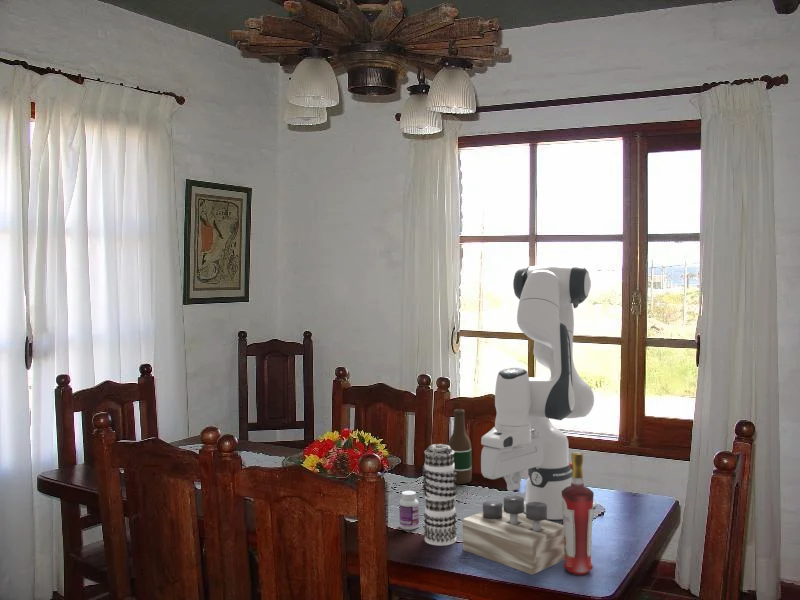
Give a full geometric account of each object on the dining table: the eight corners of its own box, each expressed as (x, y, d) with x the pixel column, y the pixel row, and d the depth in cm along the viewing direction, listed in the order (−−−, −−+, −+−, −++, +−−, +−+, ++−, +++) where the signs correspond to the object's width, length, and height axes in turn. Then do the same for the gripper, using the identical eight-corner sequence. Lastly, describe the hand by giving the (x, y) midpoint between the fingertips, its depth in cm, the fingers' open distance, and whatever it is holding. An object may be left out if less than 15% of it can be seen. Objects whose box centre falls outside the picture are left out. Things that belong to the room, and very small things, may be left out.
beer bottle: (472, 484, 253) (471, 411, 251) (449, 484, 253) (447, 412, 251) (470, 477, 260) (469, 407, 259) (447, 477, 260) (446, 407, 259)
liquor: (558, 565, 185) (557, 450, 183) (588, 564, 185) (588, 449, 184) (566, 578, 177) (566, 458, 176) (598, 577, 178) (597, 457, 176)
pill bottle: (417, 530, 210) (416, 495, 210) (398, 529, 211) (397, 495, 211) (420, 524, 216) (420, 490, 215) (401, 523, 217) (401, 489, 216)
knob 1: (491, 530, 201) (491, 500, 201) (506, 535, 197) (506, 504, 197) (479, 535, 198) (478, 504, 197) (493, 540, 194) (493, 508, 194)
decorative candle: (415, 539, 204) (414, 445, 203) (442, 531, 210) (441, 440, 208) (438, 549, 197) (436, 452, 195) (465, 540, 202) (463, 446, 201)
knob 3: (534, 532, 191) (534, 500, 190) (551, 537, 187) (551, 505, 186) (522, 537, 187) (521, 505, 187) (538, 542, 184) (538, 509, 183)
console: (498, 535, 205) (498, 506, 205) (567, 558, 189) (567, 526, 189) (462, 549, 196) (462, 518, 195) (532, 574, 180) (532, 541, 179)
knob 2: (512, 525, 196) (512, 494, 195) (528, 530, 192) (528, 498, 192) (499, 530, 192) (499, 498, 192) (515, 535, 189) (515, 503, 188)
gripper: (529, 426, 200) (529, 479, 201) (476, 439, 186) (476, 495, 187) (548, 430, 196) (549, 483, 196) (496, 443, 182) (496, 501, 182)
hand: (513, 489), depth 191 cm, fingers closed
